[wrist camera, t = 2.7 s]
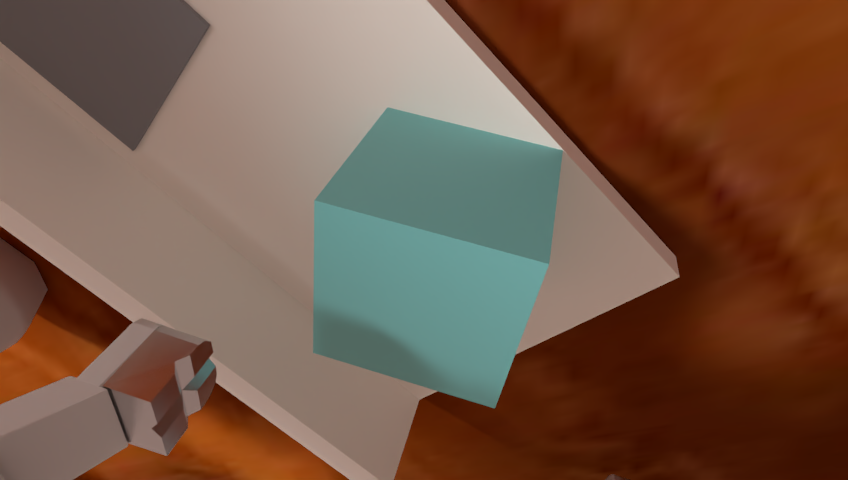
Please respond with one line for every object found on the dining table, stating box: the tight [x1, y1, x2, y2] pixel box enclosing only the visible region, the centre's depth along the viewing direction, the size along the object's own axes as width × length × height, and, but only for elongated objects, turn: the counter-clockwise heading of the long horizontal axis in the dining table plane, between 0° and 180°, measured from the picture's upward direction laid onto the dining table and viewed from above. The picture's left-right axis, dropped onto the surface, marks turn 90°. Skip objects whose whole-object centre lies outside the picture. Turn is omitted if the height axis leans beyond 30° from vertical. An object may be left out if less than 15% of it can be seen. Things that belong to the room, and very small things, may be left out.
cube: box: [313, 107, 563, 409], centre depth 14 cm, size 5×5×5 cm
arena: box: [0, 0, 680, 480], centre depth 15 cm, size 24×13×5 cm, turn 47°
